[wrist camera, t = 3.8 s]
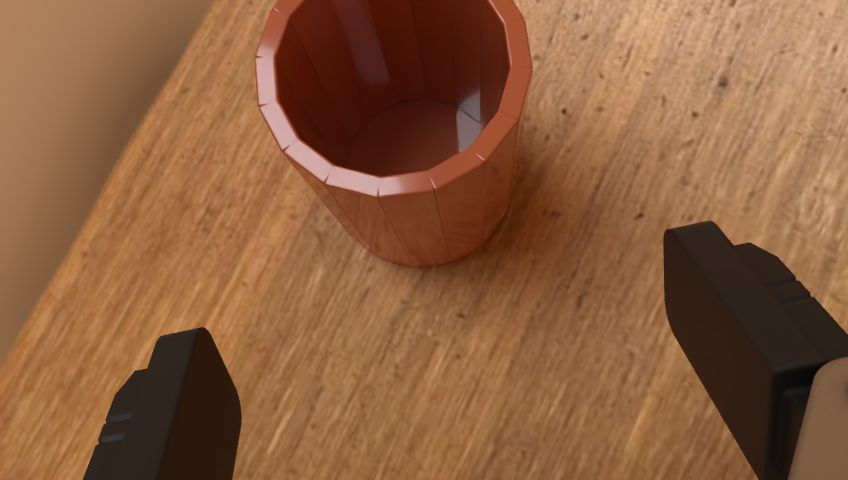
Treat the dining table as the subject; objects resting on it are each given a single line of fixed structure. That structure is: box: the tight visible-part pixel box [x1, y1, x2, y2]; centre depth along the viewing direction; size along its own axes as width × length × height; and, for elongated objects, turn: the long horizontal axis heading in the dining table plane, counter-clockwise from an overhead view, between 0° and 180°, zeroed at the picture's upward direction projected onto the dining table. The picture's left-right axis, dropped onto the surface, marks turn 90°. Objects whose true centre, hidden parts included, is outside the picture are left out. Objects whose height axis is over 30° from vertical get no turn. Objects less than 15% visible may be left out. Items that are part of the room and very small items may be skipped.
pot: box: [255, 0, 533, 267], centre depth 21 cm, size 6×6×9 cm
